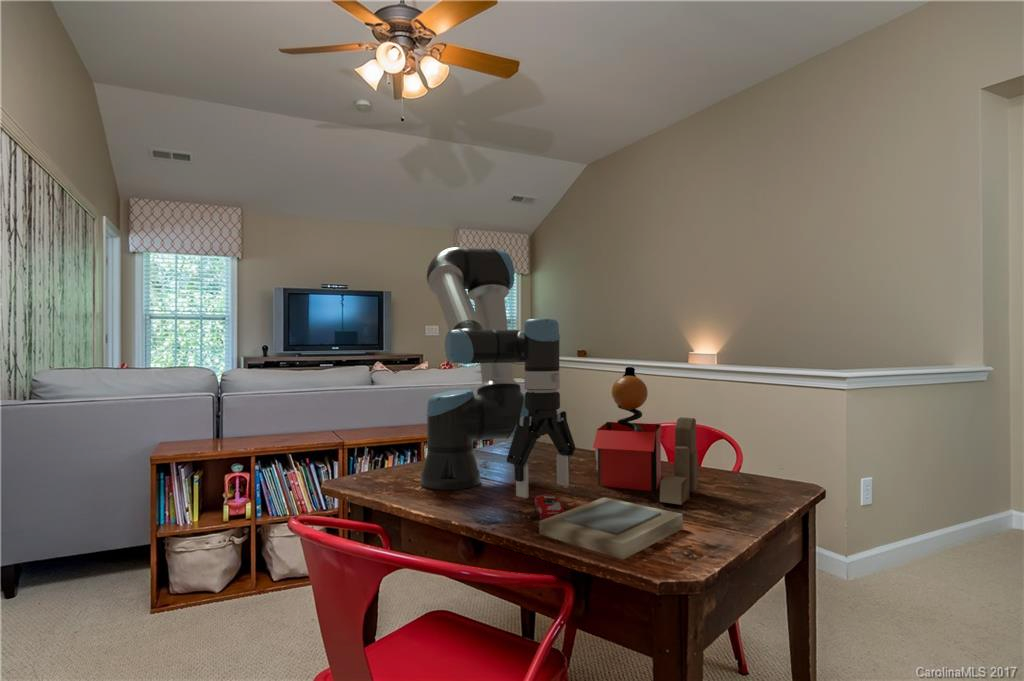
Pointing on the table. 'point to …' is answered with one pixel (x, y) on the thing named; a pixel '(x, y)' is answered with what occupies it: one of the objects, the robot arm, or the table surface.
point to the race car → (547, 506)
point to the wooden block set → (682, 464)
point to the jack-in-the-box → (629, 441)
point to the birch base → (612, 526)
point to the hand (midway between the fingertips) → (543, 490)
